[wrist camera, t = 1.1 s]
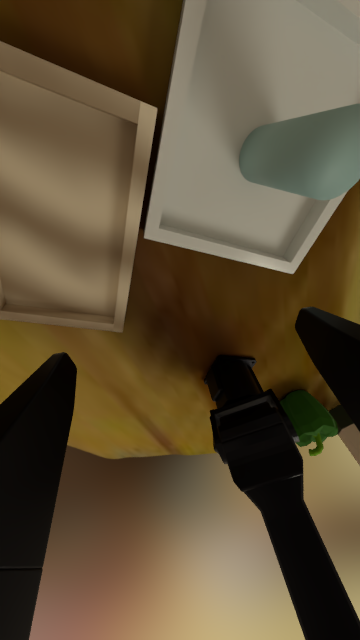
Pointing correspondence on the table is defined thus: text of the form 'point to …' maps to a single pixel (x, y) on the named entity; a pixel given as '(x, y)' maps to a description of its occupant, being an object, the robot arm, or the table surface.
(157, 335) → the table surface
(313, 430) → the bell pepper
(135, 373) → the table surface
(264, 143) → the pin
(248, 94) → the white rimmed platter
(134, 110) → the tray
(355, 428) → the wine bottle
